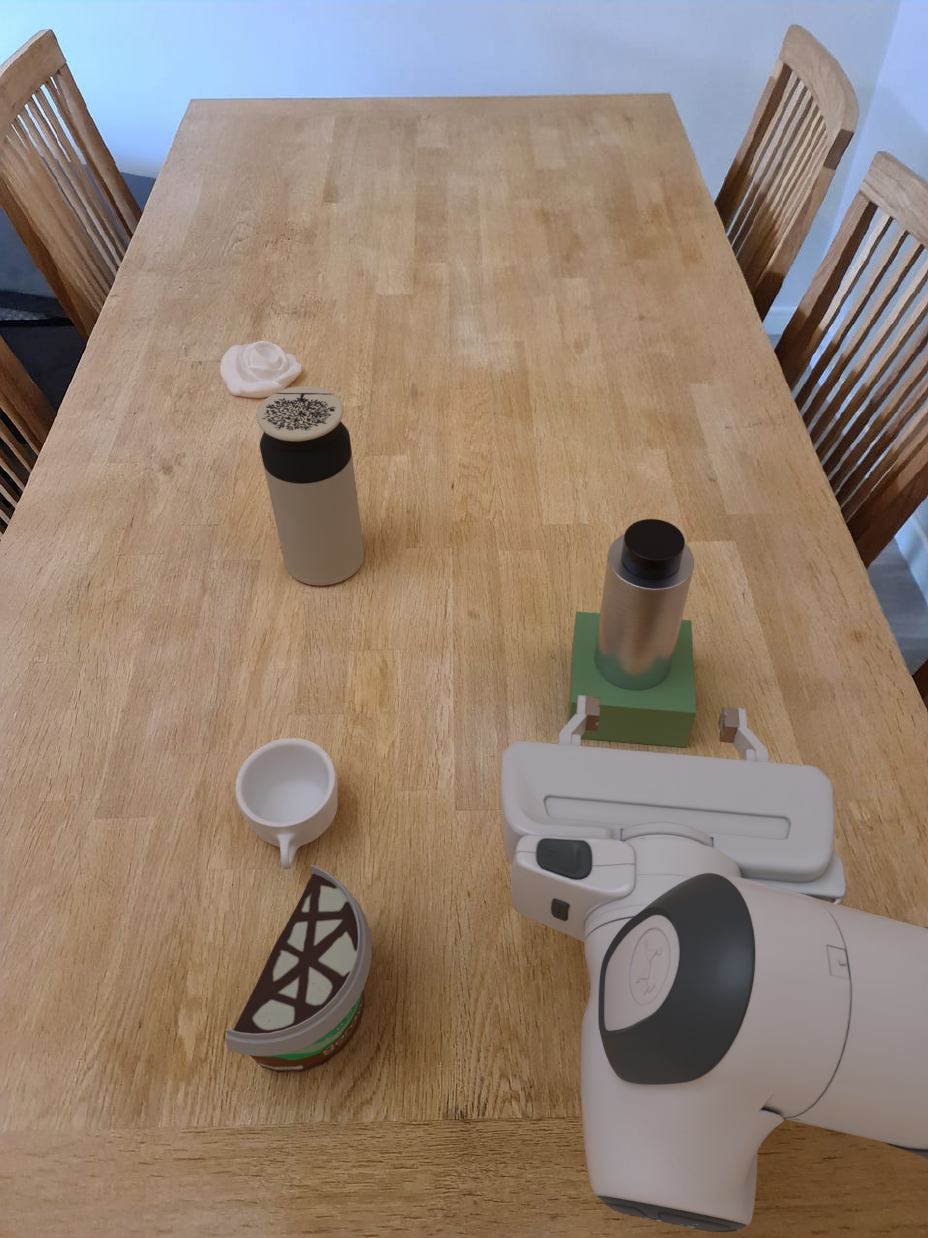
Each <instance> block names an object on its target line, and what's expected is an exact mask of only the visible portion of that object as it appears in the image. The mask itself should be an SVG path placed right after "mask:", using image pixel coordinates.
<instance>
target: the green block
mask: <svg viewBox="0 0 928 1238" xmlns="http://www.w3.org/2000/svg"><path fill="white" fill-rule="evenodd" d="M599 617H600V612H599V613H598V612H588V611H587V612H585V611H575V617H574V618H575V619H574V626H573V636H572V646H571V659H570V660H571V661H570V677H569V679H570V680H569V681H570V682H569V696H568V713H567V714H568V716H567V717H568V718H567V723H568V722H569V721H570V720H571V718H572V717H573V716H574V715H575V714H576V711H577V701H578V695H583V696H593V697H600V706H599V707H600V716H599V722H598V730H597V731H585V732H584V733H583V735H582V736H581V740H594V741H605V742H616V743H626V744H627V743H628V744H639V745H651V746H661V747H674V748H687V747H688V744H689V741H690V736H691V733H692V729H693V727H694V726H693V725H694V722H695V719H696V716H697V701H696V700H697V699H696V682H695V664H694V662H695V661H694V643H693V624H692V623H693V622H692V620H691V619H682V621H681V625H680V630H679V634H678V638H677V643H676V647H675V651H674V656H673V660H672V664H671V669H670V672H669V674H668V675H667V677H666V678H665V679H664V680H663V681H662V682H661V683H660V684H658V685H656V686H654V687H652V688H648V689H644V690H630V689H624V688H621V687H618V686H616V685H614V684H612V683H610V682H609V681H607V680H606V679H605V678H604V677H603V676H602V675H601V674H600V673H599V671H598V669H597V667H596V665H595V661H594V654H595V647H596V639H597V632H598V624H599Z"/></svg>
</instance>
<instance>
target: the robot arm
mask: <svg viewBox="0 0 928 1238" xmlns="http://www.w3.org/2000/svg"><path fill="white" fill-rule="evenodd" d="M599 706H600V697H593V696H583V695H578V701H577V711H576V714H575V715H574V716H573V717H572V718H571V720H570V721H569V722H568V721H567V723H566V724H565V725H564V726H563V727H562V729H561V730H560V731H559V733H558V734H559V735H558V743H555V742H544V741H530V740H521V739H519V740H518V739H517V740H515V741H513V742H512V743H511V744H509V745H508V746H507V747H506V748H505V749H504V750H503V751H502V752H501V756H500V772H499V773H500V774H499V816H500V829H501V830H500V831H501V839H502V846H503V847H502V848H503V851H504V854H505V856H506V859H507V860H508V862H509V863H510V865H511V869H510V894H511V899H512V904H513V907H514V910H515V911H516V912H517V913H518V914H519V915H521V916H522V917H524V918H526V919H528V920H531V921H534V922H536V923H538V924H541V925H543V926H546V927H547V928H550V929H552V930H555V931H558V932H559V933H562V934H564V935H567V936H569V937H571V938H573V939H575V940H578V941H580V942H582V943H583V955H584V960H585V965H586V968H587V971H588V977H589V994H588V999H587V1003H586V1006H585V1009H584V1013H583V1015H582V1019H581V1027H580V1028H581V1029H580V1072H579V1073H580V1075H579V1077H580V1106H581V1108H580V1109H581V1125H582V1137H583V1146H584V1154H585V1155H584V1156H585V1161H586V1162H585V1163H586V1168H587V1174H588V1179H589V1183H590V1187H591V1190H592V1193H593V1194H594V1195H595V1197H597V1198H598V1199H599V1200H600V1201H602V1202H603V1203H604V1205H605V1206H606V1207H608V1208H609V1209H612V1210H613V1211H615V1212H617V1213H619V1214H621V1215H628V1216H631V1217H637V1218H642V1219H645V1220H649V1221H655V1222H658V1223H665V1224H670V1225H674V1226H680V1227H684V1228H685V1227H686V1228H691V1229H693V1230H699V1231H705V1232H711V1233H732V1232H737V1231H738V1230H741V1229H744V1228H746V1227H748V1226H750V1224H751V1223H752V1220H753V1215H754V1210H755V1205H756V1204H755V1203H756V1193H757V1182H758V1181H757V1179H758V1159H759V1155H758V1154H759V1153H758V1151H759V1148H760V1147H761V1145H762V1144H763V1142H764V1140H765V1139H766V1138H767V1137H768V1136H769V1134H770V1133H771V1132H772V1131H773V1130H774V1129H776V1128H777V1127H779V1125H781V1124H783V1123H784V1122H785V1120H786V1121H791V1122H796V1123H799V1124H804V1125H809V1126H813V1127H818V1128H822V1129H824V1130H825V1129H826V1130H830V1131H835V1132H838V1133H842V1134H847V1135H852V1136H856V1137H860V1138H864V1139H868V1140H873V1141H877V1142H881V1143H884V1144H886V1145H888V1146H889V1147H893V1148H896V1149H899V1150H903V1151H906V1152H909V1153H911V1154H915V1155H917V1156H920V1157H924V1158H926V1159H928V927H927V926H925V927H924V926H920V925H916V924H912V923H909V922H905V921H902V920H898V919H894V918H891V917H887V916H882V915H879V914H875V913H873V912H868V911H864V910H861V909H857V908H853V907H849V906H845V905H842V903H843V901H844V900H845V897H846V895H847V883H846V877H845V869H844V864H843V861H842V859H841V858H840V856H839V855H838V853H837V852H836V851H835V850H834V849H833V848H834V838H835V798H834V788H833V783H832V780H831V779H830V778H829V777H828V776H827V775H826V774H825V773H824V772H823V771H822V769H820V768H819V767H817V766H816V765H810V764H797V763H785V762H776V761H775V762H774V761H770V757H769V750H768V748H767V747H766V746H765V745H764V743H763V742H762V741H761V740H760V739H759V737H758V736H757V735H756V734H755V733H754V732H753V730H752V729H751V728H749V727H748V716H747V715H748V714H747V709H746V708H741V707H740V708H739V707H731V706H729V707H727V706H722V707H721V713H720V714H719V717H718V728H719V734H718V735H719V742H721V743H727V744H729V743H730V744H732V745H733V747H734V748H735V749H736V752H738V754H739V755H740V757H741V758H742V759H739V758H728V757H717V756H716V757H715V756H704V755H693V754H683V753H681V754H680V753H671V752H660V751H659V752H658V751H647V750H635V749H623V748H611V747H599V746H591V745H590V746H589V745H582V744H581V742H582V739H581V736H582V735H583V733H584V732H585V731H597V730H598V722H599V716H600V707H599Z"/></svg>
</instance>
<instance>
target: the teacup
mask: <svg viewBox="0 0 928 1238" xmlns="http://www.w3.org/2000/svg"><path fill="white" fill-rule="evenodd" d="M234 787H235V789H234V790H235V793H234V795H235V800H236V804H237V807H238V810H239V812H240V814H241V815H242V817H243V819H244V821H245V823H246V825H247V826H248V827H249V828H250V829H251V831H252V832H253V833H255V835H256V836H257V837H259V838H260V839H261V840H262V841H264V842H265V843H267V844H269V845H272V846H274V847H275V846H276V847H279V850H280V851H279V852H280V864H281V867H282V869H283V870H285V871H289V870H291V869H292V866H293V864H294V863H293V862H294V860H295V856H296V853H297V851H298V850H299V848H300V847H302V846H304V845H307V844H309V843H311V842H313V841H315V840H317V839H318V838H319V837H320V836H322V835H323V834H324V833H325V832H326V831H327V830H328V829H329V827H330V826H331V825H332V823H333V821H334V820H335V817H336V815H337V811H338V802H339V801H338V794H339V793H338V792H339V791H338V790H339V788H338V787H339V786H338V773H337V769H336V767H335V764H334V763H333V760H332V759H331V757H330V756H329V754H328V753H327V752H326V751H325V750H324V748H322V747H321V746H319V745H318V744H317V743H315V742H313V741H310V740H308V739H305V738H298V737H284V738H279V739H275V740H271V741H270V742H267V743H265V744H263V745H262V746H260V747H258V748H257V749H256V750H254V751H253V752H252V753H251V754H250V755H249V756H248V757H246V759H245V761H244V762H243V763H242V765H241V767H240V769H239V771H238V774H237V776H236V780H235V786H234Z"/></svg>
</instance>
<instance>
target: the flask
mask: <svg viewBox="0 0 928 1238" xmlns="http://www.w3.org/2000/svg"><path fill="white" fill-rule="evenodd" d="M694 569H695V558H694V554H693V552H692V550H691V549H690V547H689V546H688V545H687V544H686V539H685V537H684V534H683V532H682V531H681V530H680V529H679V528H678V527H677V526H675V525H674V524H673V523H670V522H668V521H666V520H662V519H658V518H646V519H640V520H637V521H635V522H633V523H632V524H630V525H629V526H628V527H627V528H626V530H625V532H624V534H622V535H620V536H618V537H617V538H616V539H615V540H614V541H613V542H612V543H611V544H610V546H609V549H608V552H607V558H606V566H605V574H604V579H603V582H604V583H603V587H602V588H603V589H602V595H601V601H600V602H601V603H600V611H599V613H600V617H599V624H598V632H597V639H596V647H595V654H594V661H595V665H596V667H597V669H598V671H599V673H600V674H601V675H602V676H603V677H604V678H605V679H606V680H607V681H609V682H610V683H612V684H614V685H616V686H618V687H621V688H624V689H630V690H644V689H648V688H652V687H654V686H656V685H658V684H660V683H661V682H662V681H663V680H664V679H665V678H666V677H667V675H668V674H669V672H670V669H671V664H672V660H673V656H674V651H675V647H676V643H677V638H678V634H679V630H680V625H681V621H682V620H683V616H684V613H685V608H686V603H687V599H688V595H689V590H690V587H691V582H692V577H693V573H694Z"/></svg>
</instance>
